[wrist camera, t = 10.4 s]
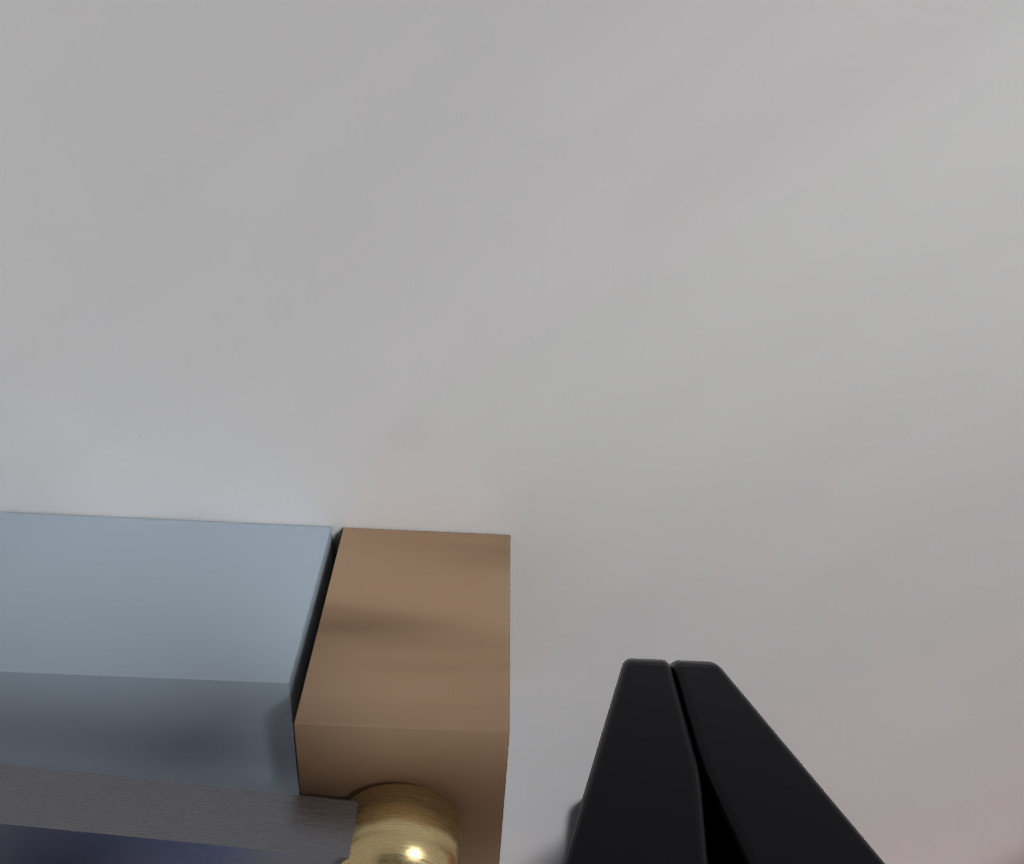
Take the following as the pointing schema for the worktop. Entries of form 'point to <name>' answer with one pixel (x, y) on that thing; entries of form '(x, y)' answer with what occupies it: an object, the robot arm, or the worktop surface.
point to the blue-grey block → (158, 646)
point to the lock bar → (215, 823)
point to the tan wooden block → (413, 675)
